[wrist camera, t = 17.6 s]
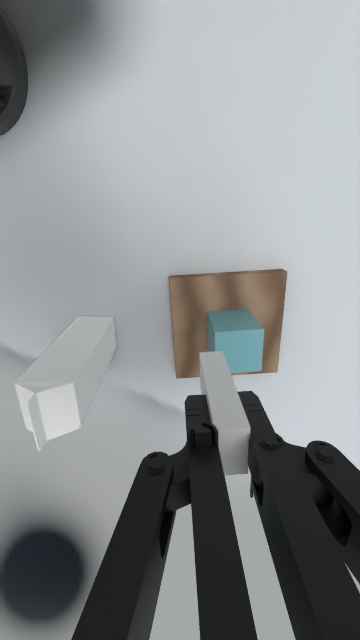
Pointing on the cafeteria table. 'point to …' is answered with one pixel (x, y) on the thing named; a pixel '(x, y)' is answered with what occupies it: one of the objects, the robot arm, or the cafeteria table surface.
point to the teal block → (237, 339)
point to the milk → (66, 378)
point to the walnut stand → (219, 295)
